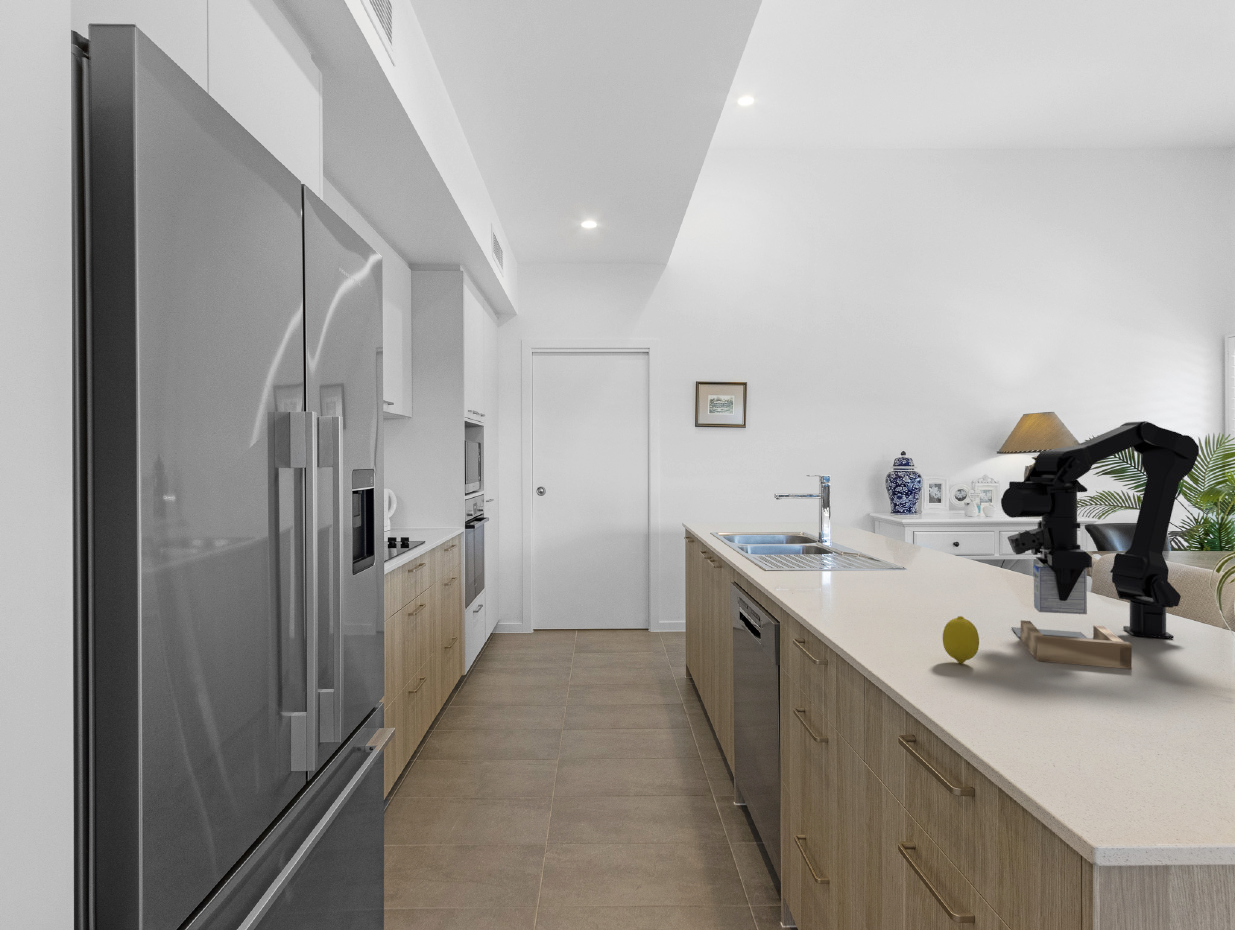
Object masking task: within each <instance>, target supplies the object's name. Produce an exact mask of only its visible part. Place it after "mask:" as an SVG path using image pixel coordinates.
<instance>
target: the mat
mask: <svg viewBox="0 0 1235 930" xmlns="http://www.w3.org/2000/svg"><path fill="white" fill-rule="evenodd" d="M1010 628H1012V629H1013V630H1012V629H1011V630H1012V631H1013V633H1014V632H1015V633H1016V634H1015V633H1014V634H1015V635H1016V637H1017V636H1018V637H1019V638H1018V637H1017V638H1018V639H1021V627H1018V626H1017V627H1016V626H1011V627H1010ZM1037 629H1038V630H1039V631H1040V633H1041V634H1043V635H1056V636H1070V637H1083V638H1088V637H1087V636H1086V635H1085V634H1084V633H1083V632H1081V631H1073V630H1071V631H1070V630H1058V629H1057V630H1056V629H1041V628H1037Z"/></svg>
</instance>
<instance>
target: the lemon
mask: <svg viewBox="0 0 1235 930" xmlns="http://www.w3.org/2000/svg"><path fill="white" fill-rule="evenodd" d="M942 631H943V632H942V644H943V649H944V651H945V652H946V653H947V655H948V656H950V658H953V659H954V660H956V662H957V663H958V664H961V665H963V664H964V663H966V661H970V660H971V659H973V658H975V656H976V655H977V653H978V651H979V648H980V647H979V646H980V636H979V633H978V629H977V627H976V626H975V624H974V623H972V622H971V621H970V620H969V619H966V618H965V617H964V616H962V615H960V616H957V617H956V618H953V619H951V620H949V621H948V622H946V624H945V626H944V628H943V630H942Z"/></svg>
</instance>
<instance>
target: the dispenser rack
mask: <svg viewBox="0 0 1235 930" xmlns="http://www.w3.org/2000/svg"><path fill="white" fill-rule="evenodd" d="M1092 626H1093V627H1092V628H1093V630H1092V632H1093V634H1092V635H1093V636H1092V638H1091V637H1087V638H1083V637H1070V636H1056V635H1043V634H1041V633H1040V631H1039V630H1038V629H1039V628H1037V626H1035V625H1034V623H1033V622H1032V621H1031V620H1023V619H1021V620H1020V628H1021V638H1020V640H1021V639H1022V640H1021V641H1022V642H1023V644H1024V643H1025V644H1024V645H1025V647H1026V648H1027V649H1028V651H1029V652H1030V653H1031V654H1032V656H1033V657H1034V658H1035V660H1036V661H1038V662H1049V663H1061V664H1068V665H1069V664H1070V665H1071V664H1072V665H1083V666H1091V667H1092V666H1093V667H1104V668H1107V667H1108V668H1115V669H1116V668H1118V669H1129V670H1130V669H1131V670H1132V668H1133V667H1132V666H1133V665H1132V660H1133V659H1132V657H1133V656H1132V647H1133V646H1132V643H1130V642H1129V641H1124V640H1123V639H1121V638H1120V637H1119V636H1117V635H1116V634H1114V633H1113V632H1112V631H1111V630H1109V629H1108V628H1107V627H1106V626H1105V625H1095V624H1094V625H1092Z"/></svg>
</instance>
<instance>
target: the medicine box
mask: <svg viewBox="0 0 1235 930" xmlns="http://www.w3.org/2000/svg"><path fill="white" fill-rule="evenodd" d="M1087 573H1088V570H1087V568H1086V569H1085V570H1083V572H1082V574H1081V575H1080V577H1079V579H1078V581H1077V582H1076V584H1075V586H1074V588H1073V590H1072V591H1071V593H1070V595H1069V597H1068V599H1067V601H1060V600H1059V596H1058V591H1057V586H1056V580H1055V575H1054V572H1053V571H1052V570H1051V569H1050V568H1049V567H1047V566H1046V565H1043V564H1042V563H1040V564H1039V563H1037V564H1036V563H1035V564H1034V565H1033V606H1034V607H1033V608H1034V609H1035V610H1036V611H1037V612H1038V613H1047V614H1048V613H1049V614H1067V615H1068V614H1070V615H1087V614H1088V607H1087V606H1088V602H1087V601H1088V600H1087V599H1088V598H1087V597H1088V595H1087V594H1088V593H1087V591H1088V589H1087V587H1088V585H1087V584H1088V582H1087V580H1088V579H1087V578H1088V577H1087V576H1088V574H1087Z"/></svg>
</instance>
